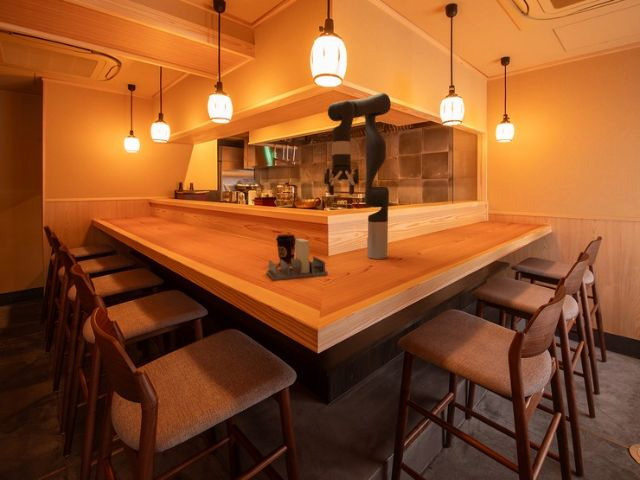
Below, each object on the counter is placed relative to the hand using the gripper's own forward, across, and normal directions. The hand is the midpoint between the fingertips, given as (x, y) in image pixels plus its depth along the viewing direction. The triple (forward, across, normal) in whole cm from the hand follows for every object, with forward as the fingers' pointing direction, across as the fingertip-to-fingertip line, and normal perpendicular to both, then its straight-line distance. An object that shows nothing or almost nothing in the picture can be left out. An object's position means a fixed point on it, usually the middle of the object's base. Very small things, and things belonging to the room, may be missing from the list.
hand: (341, 194), depth 137 cm
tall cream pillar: (+29, +19, +4) cm, 35 cm away
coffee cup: (+30, +20, -15) cm, 39 cm away
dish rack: (+30, +21, +4) cm, 37 cm away
